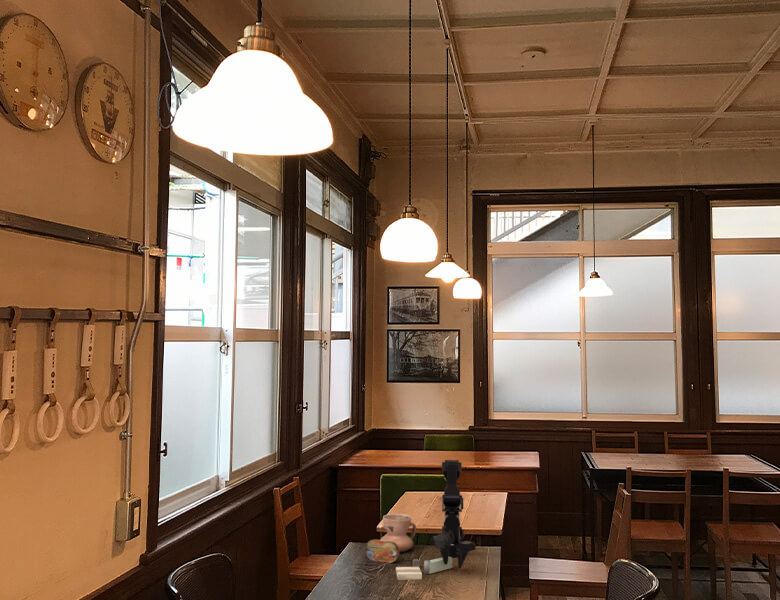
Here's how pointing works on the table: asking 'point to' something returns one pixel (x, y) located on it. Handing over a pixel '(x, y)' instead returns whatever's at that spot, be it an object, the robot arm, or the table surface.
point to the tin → (382, 551)
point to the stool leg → (436, 565)
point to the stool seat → (408, 573)
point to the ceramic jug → (398, 530)
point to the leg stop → (415, 563)
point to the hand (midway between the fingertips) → (452, 566)
